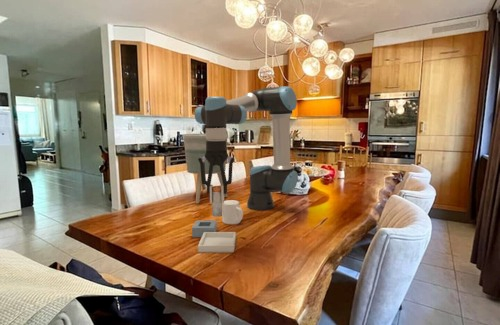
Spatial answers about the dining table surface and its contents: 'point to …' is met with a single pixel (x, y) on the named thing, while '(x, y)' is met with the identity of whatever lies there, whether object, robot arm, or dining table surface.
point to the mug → (231, 212)
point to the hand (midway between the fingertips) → (217, 202)
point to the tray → (217, 242)
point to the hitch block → (203, 227)
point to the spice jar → (216, 201)
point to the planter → (193, 152)
